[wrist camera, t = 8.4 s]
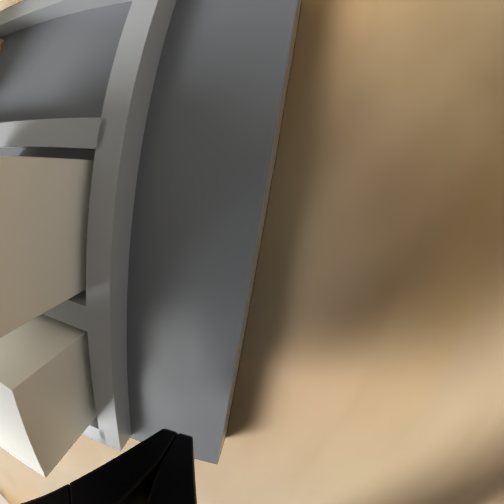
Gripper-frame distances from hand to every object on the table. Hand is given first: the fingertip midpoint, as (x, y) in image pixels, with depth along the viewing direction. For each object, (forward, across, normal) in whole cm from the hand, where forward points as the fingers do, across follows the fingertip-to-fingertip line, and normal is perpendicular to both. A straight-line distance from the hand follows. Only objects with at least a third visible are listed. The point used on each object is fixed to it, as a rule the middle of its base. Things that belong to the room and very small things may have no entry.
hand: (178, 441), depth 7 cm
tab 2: (+2, +6, 0) cm, 6 cm away
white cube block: (+2, +6, -5) cm, 8 cm away
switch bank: (+3, +9, -5) cm, 11 cm away
